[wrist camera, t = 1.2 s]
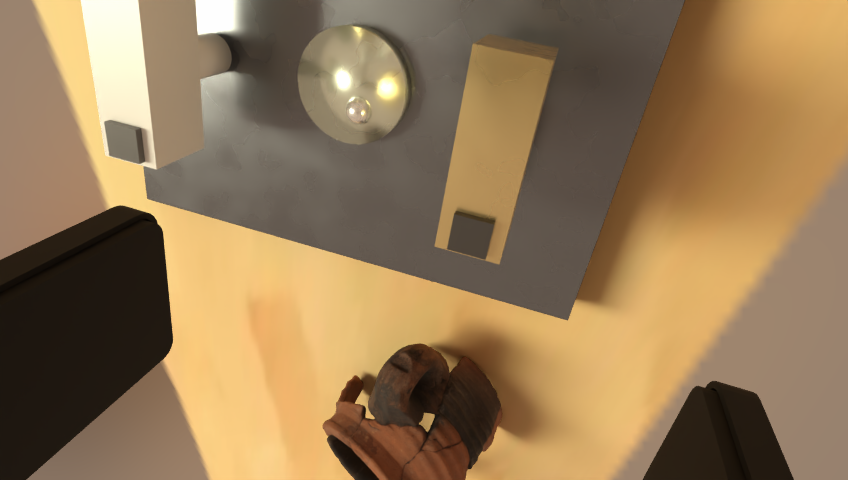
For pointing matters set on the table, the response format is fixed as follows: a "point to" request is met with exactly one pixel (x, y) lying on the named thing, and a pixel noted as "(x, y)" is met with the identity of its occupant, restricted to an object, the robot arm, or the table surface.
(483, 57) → the wooden bar knob
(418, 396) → the brown curved hollow piece
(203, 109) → the levelling plate
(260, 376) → the table surface
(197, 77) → the white t-shaped handle
